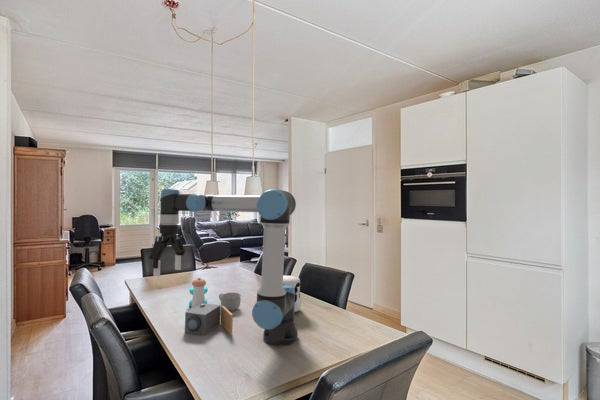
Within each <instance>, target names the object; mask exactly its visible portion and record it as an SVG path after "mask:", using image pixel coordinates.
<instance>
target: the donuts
mask: <svg viewBox="0 0 600 400" xmlns="http://www.w3.org/2000/svg"><path fill="white" fill-rule="evenodd" d="M189 293H190V295H192V296H193V287H191V288H190V289H189ZM207 293H208V287H206V286H204V295H206V294H207ZM205 303H206V304H208V300H207V299H206V298H205ZM188 305H189V306H190V307H191V308H192V299H191V300H189V303H188Z"/></svg>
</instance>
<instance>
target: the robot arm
mask: <svg viewBox="0 0 600 400" xmlns="http://www.w3.org/2000/svg"><path fill="white" fill-rule="evenodd" d="M159 200H160V201H159V202H160V208H159V209H160V213H159V214H160V215H159V223H160V224H159V233H160V234H161V236H157V235H156V236H155V239H154V244H153V246H152V249H151V252H150V254H149V256H148V257H149V258H148V259H149V260H150V261H152V268H153V273H152V274H153V277H161V260H160V259H161V257H162V255H163V254H164V251H165V250H166V248H167V247H169V246H171V248H172V249H173V251H174V252H175V255H174V270H175V271H181V270H182V256H184V255H185V253H186V250H185V246H184V244H183V240H182V234H181V233H179V217H180V216H179V215H180V213H179V212H192V213H195V212H234V213H236V212H237V213H239V212H240V213H258V214H259V215H260V217H259V218H260V219H259V220H260V221H259V222H260V224H261V225H262V227H263V237H262V238H263V241H262V258H261V259H262V261H261V283H260V284H261V286H260V288H258V289H257V291H256V292H257V293H256V302H255V304H254V305H253V307H252V311H251V316H252V320H253V322H254V323H255V324H256V325H257V326H258V327H259V328H261V329H263V330H264V331H263V335H262V338H263V339H262V340H263V341H264V342H265V343H266V344H270V345H274V346H289V345H292V344H294V343H296V342H297V341H298V339H299V336H298V335H299V334H298V329H297V324H296V323H295V313H294V308H295V289H294V287H292V286H289V285H283V276H284V269H285V267H284V264H285V263H284V262H285V247H286V246H285V243H286V241H285V240H286V228H287V226H289V225H290V219H291V217H290V216H291V215H293V214H294V212H295V210H296V207H297V203H296V199H295V197H294V195H293V194H292V193H290V192H289V191H287V190H281V189H277V188H273V189H272V188H271V189H268V190H265V191H264V192H262V193H261V194H260V195H258V194H256V195H249V194H248V195H247V194H245V195H239V194H234V195H230V194H226V195H225V194H224V195H223V194H216V195H215V194H201V193H180V190H179V189H176V188H174V189H173V188H163V189H161V192H160V198H159Z"/></svg>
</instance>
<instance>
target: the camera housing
mask: <svg viewBox="0 0 600 400" xmlns="http://www.w3.org/2000/svg"><path fill="white" fill-rule="evenodd" d="M191 308H192V307H191ZM191 308H190V309H188V310H187V311H185V318H184V319H185V320H184V333H187V334H194V335H200V336H202V335H203V336H206V335H207V334H209V333H210V332H211V331H213V330H214V329H215V328H217V327H218V326H219V325H221V304H213V303H207V304H206V303H202V304H200V305H198V306H196V307H194V308H192V309H191Z"/></svg>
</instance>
